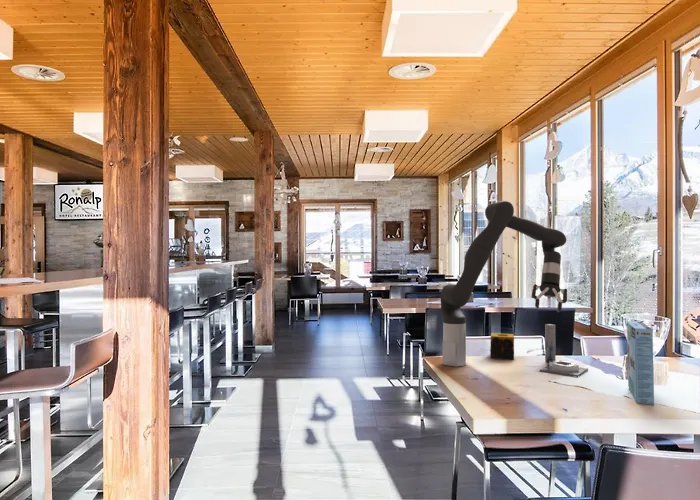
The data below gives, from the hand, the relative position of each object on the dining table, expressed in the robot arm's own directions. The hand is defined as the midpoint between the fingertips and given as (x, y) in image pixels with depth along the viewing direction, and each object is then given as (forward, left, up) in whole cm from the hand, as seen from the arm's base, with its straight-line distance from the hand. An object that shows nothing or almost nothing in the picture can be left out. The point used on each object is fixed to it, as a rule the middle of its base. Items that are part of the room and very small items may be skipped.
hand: (548, 309), depth 204 cm
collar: (-15, -11, -22) cm, 29 cm away
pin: (-3, -2, -22) cm, 22 cm away
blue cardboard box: (-34, -40, -22) cm, 57 cm away
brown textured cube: (-6, +18, -22) cm, 29 cm away
